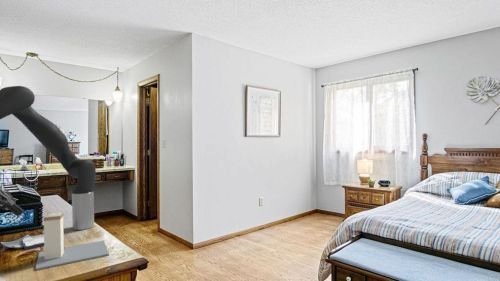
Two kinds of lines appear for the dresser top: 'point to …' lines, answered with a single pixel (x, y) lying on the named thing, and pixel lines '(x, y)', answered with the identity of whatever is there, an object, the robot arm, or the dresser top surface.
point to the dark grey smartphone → (35, 242)
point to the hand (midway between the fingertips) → (21, 213)
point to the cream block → (53, 236)
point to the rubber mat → (74, 255)
